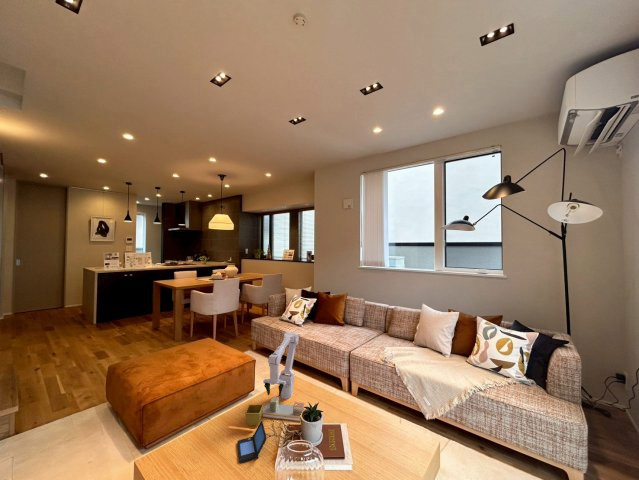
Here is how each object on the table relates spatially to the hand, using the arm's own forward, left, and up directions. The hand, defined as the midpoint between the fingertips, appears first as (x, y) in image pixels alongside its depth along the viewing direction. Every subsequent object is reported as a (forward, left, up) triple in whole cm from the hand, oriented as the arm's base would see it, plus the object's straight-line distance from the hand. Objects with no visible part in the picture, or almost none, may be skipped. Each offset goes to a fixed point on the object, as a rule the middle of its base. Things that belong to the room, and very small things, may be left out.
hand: (274, 395), depth 171 cm
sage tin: (0, 0, -9) cm, 9 cm away
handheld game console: (+34, 0, -10) cm, 35 cm away
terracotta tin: (+2, +17, -9) cm, 19 cm away
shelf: (+1, +8, -10) cm, 13 cm away
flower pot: (+15, -7, -10) cm, 19 cm away
